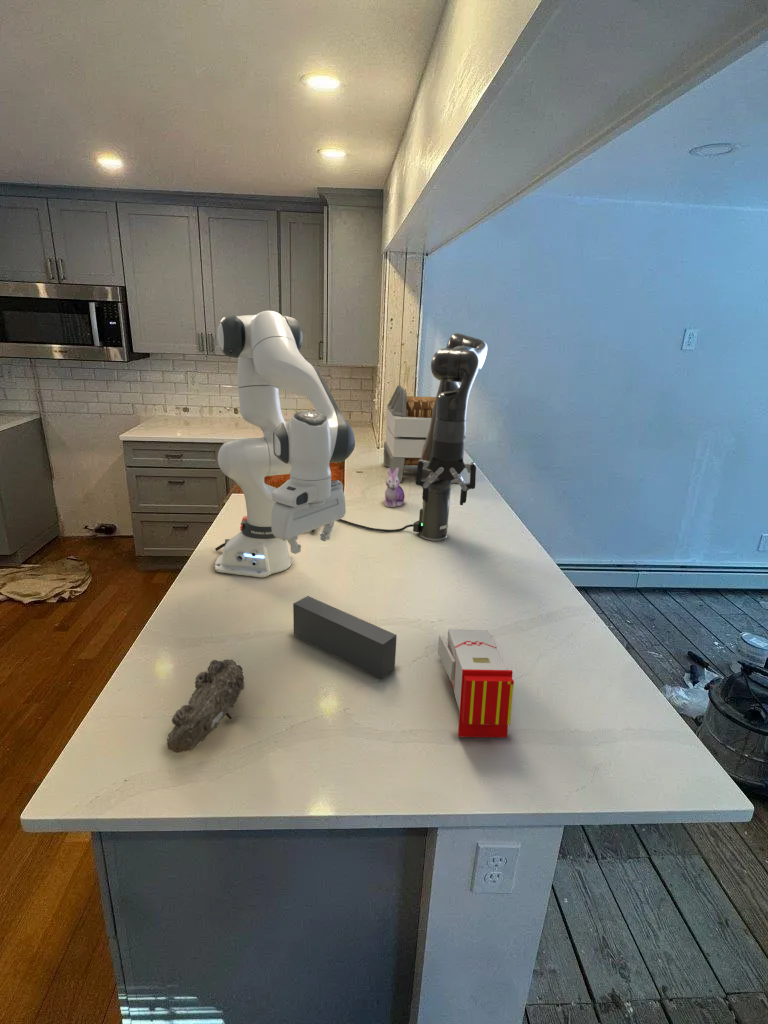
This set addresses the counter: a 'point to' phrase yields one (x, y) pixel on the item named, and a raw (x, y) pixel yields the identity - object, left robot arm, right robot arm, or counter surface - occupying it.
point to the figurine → (393, 490)
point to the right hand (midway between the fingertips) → (443, 503)
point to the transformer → (406, 429)
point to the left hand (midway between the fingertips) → (310, 546)
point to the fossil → (206, 705)
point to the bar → (345, 636)
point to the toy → (478, 682)
